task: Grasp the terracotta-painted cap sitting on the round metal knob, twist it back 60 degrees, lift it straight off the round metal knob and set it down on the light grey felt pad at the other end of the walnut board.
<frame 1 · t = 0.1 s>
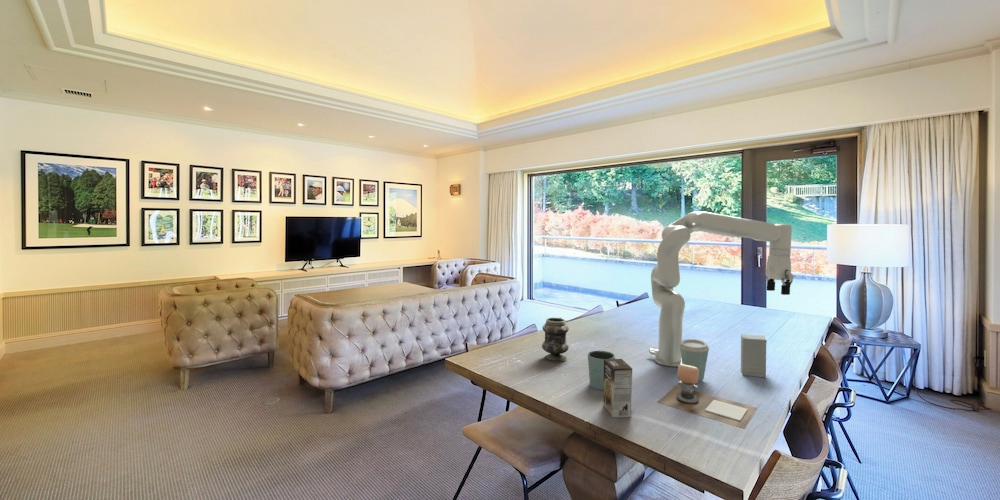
hand: (777, 292, 173), 31 cm above the table, tool pointing down, fingers open, 9 cm apart
disposable coffee cup: (692, 380, 158), on the table
apothecary jar: (555, 358, 182), on the table
pad: (726, 410, 130), resting on board
teal cup: (600, 385, 153), on the table
round metal knob: (687, 399, 138), resting on board
coffee box: (616, 411, 132), on the table
cap: (687, 379, 138), point 8 cm above the table, touching round metal knob
skincare box: (752, 374, 163), on the table
board: (706, 407, 134), on the table
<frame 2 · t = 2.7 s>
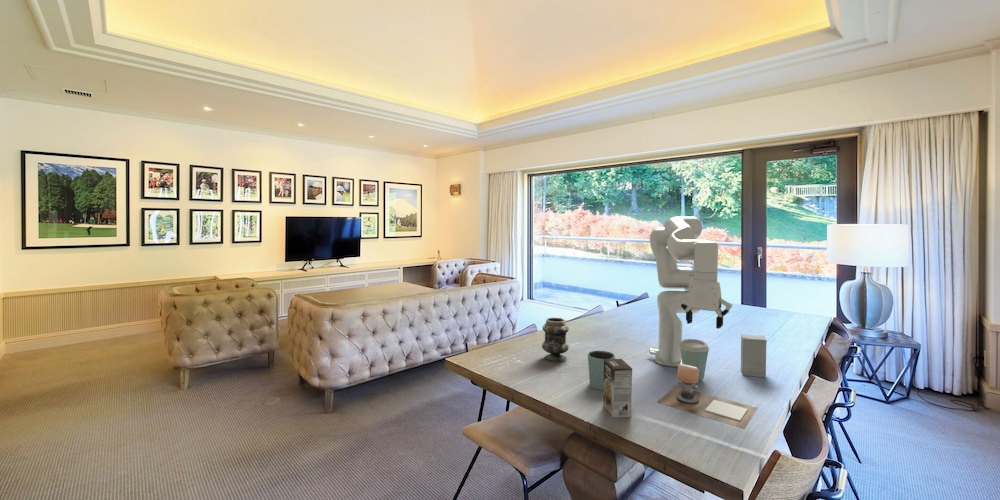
hand: (703, 325, 141), 26 cm above the table, tool pointing down, fingers open, 9 cm apart
nothing on the table moved.
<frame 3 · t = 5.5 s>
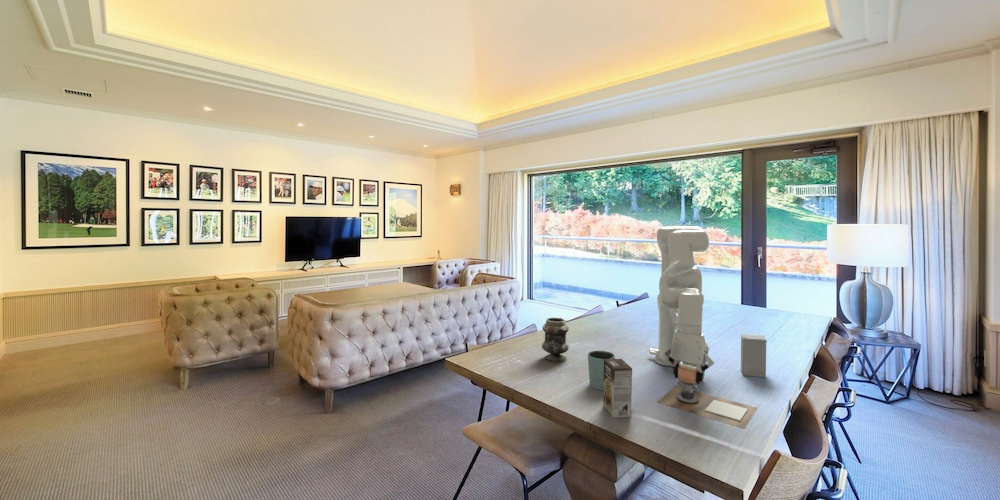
hand: (687, 379, 138), 8 cm above the table, tool pointing down, fingers closed on cap, 6 cm apart
cap: (687, 379, 138), point 8 cm above the table, touching gripper, round metal knob
everything else where it was.
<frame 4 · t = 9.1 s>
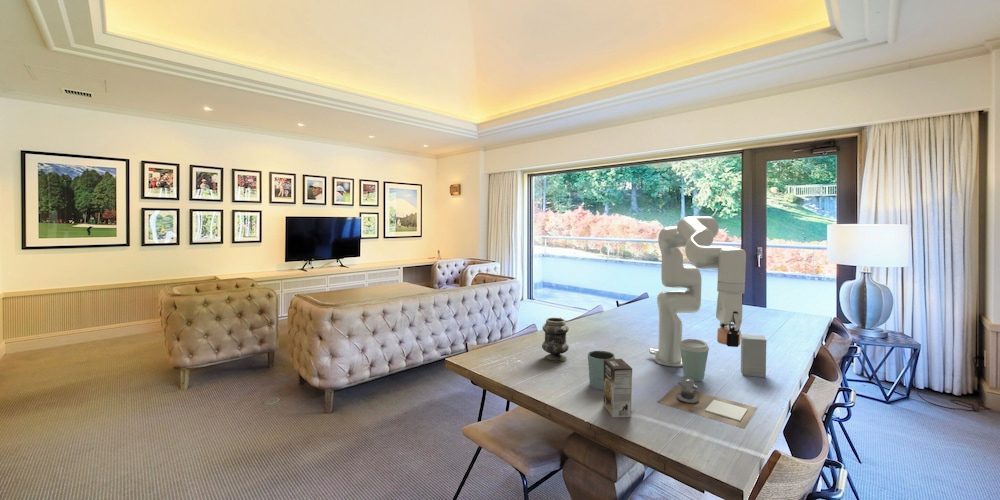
hand: (728, 342, 128), 23 cm above the table, tool pointing down, fingers closed on cap, 6 cm apart
cap: (728, 342, 128), point 23 cm above the table, touching gripper
everything else where it was.
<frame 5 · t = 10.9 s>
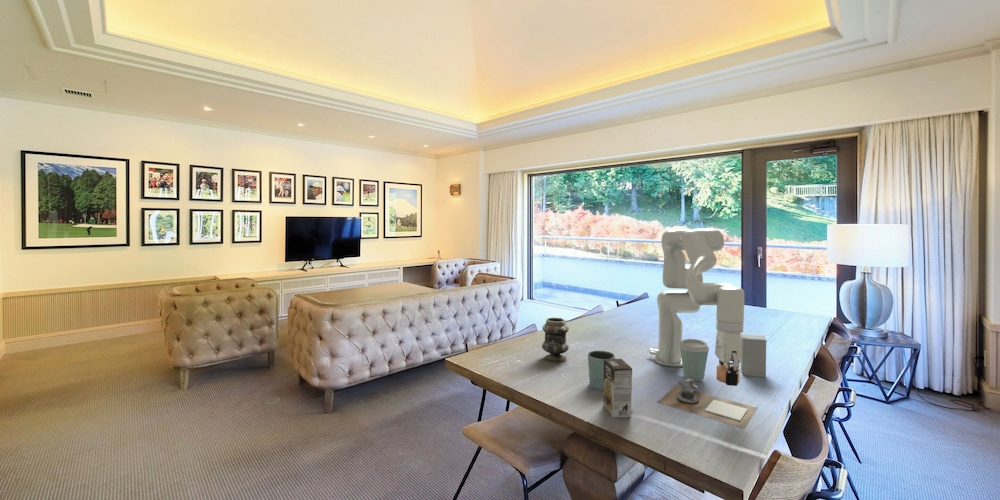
hand: (727, 380, 129), 11 cm above the table, tool pointing down, fingers closed on cap, 6 cm apart
cap: (727, 380, 129), point 11 cm above the table, touching gripper
everything else where it was.
when the fingers open (3 cm above the table, at t = 12.7 s): cap drops 2 cm, resting on pad.
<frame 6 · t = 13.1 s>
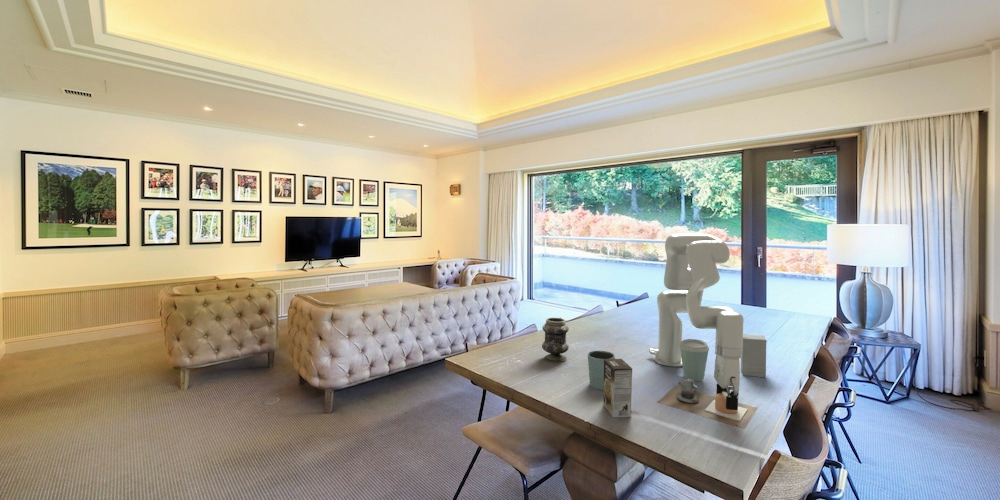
hand: (726, 402, 130), 4 cm above the table, tool pointing down, fingers open, 9 cm apart
cap: (726, 409, 130), point 1 cm above the table, touching pad
everything else where it was.
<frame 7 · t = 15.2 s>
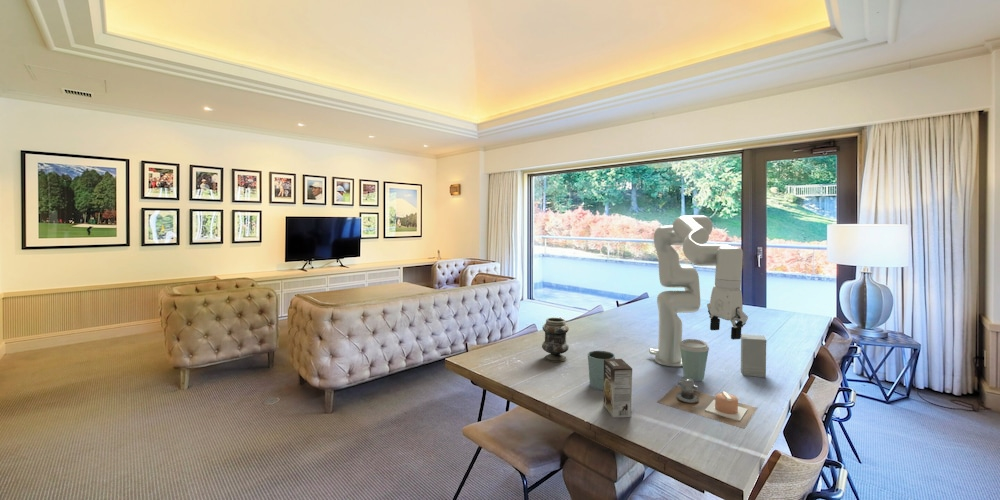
hand: (724, 334, 135), 24 cm above the table, tool pointing down, fingers open, 9 cm apart
nothing on the table moved.
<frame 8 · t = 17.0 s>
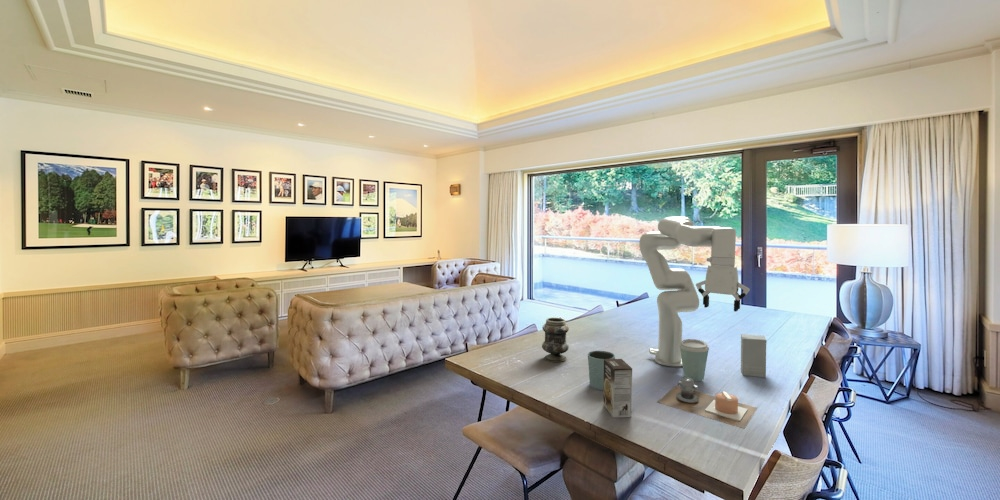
hand: (720, 308, 146), 30 cm above the table, tool pointing down, fingers open, 9 cm apart
nothing on the table moved.
at the end: cap inside the target area on the pad (0.1 cm from its centre), point 0.4 cm above the pad's base; cap tilted 0°; the gripper is holding nothing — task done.
